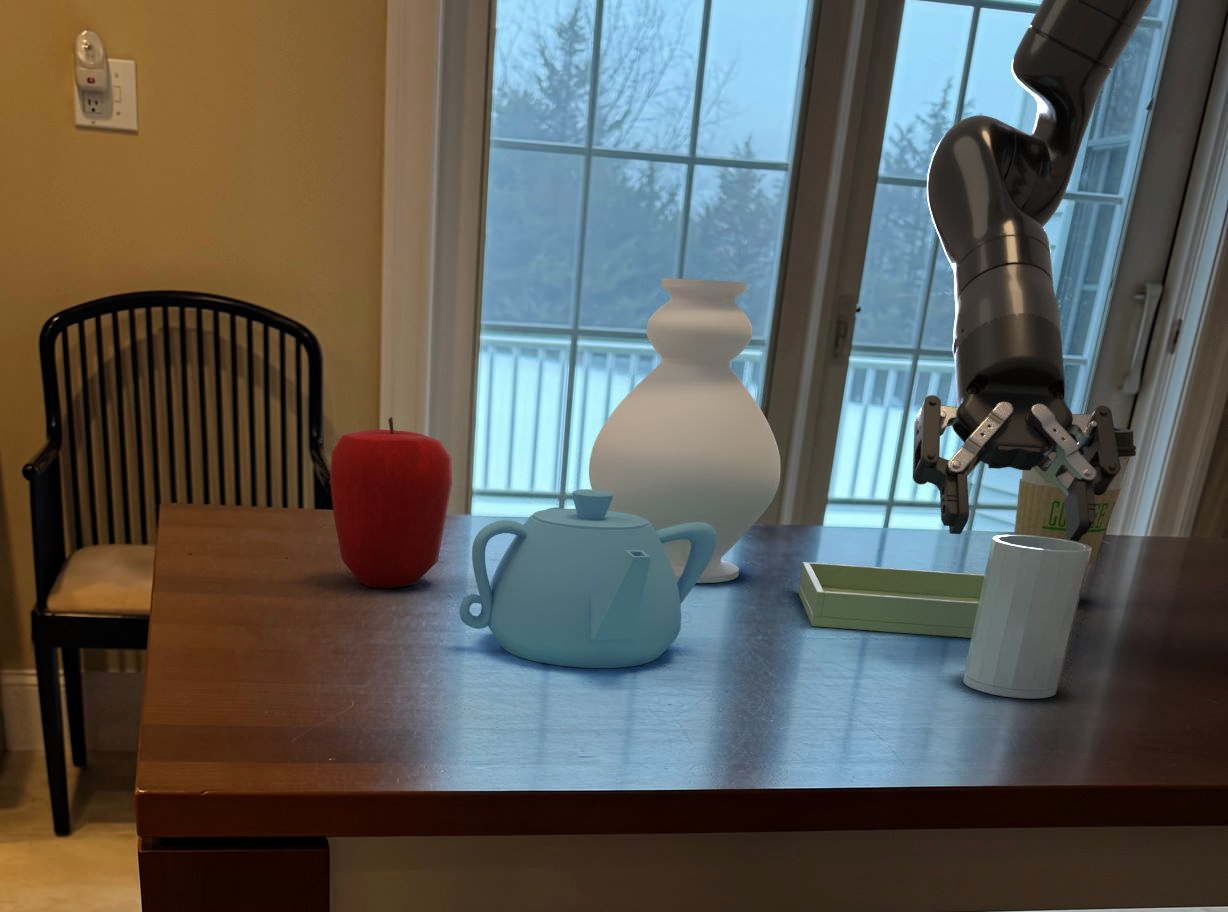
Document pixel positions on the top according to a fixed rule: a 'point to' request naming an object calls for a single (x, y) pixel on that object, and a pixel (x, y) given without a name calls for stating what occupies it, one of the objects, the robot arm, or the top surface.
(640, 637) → the teapot
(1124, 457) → the coffee cup
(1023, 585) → the container
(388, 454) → the apple
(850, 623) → the tray
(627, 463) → the decorative vase
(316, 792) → the top surface
